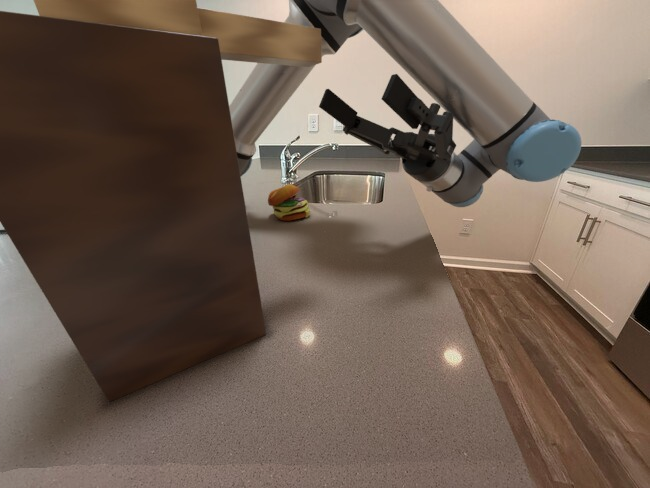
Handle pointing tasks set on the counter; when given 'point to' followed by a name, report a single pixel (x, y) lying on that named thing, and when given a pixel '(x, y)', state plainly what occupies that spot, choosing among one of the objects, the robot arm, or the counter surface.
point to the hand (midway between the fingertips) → (350, 92)
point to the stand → (126, 193)
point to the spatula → (201, 27)
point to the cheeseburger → (288, 203)
